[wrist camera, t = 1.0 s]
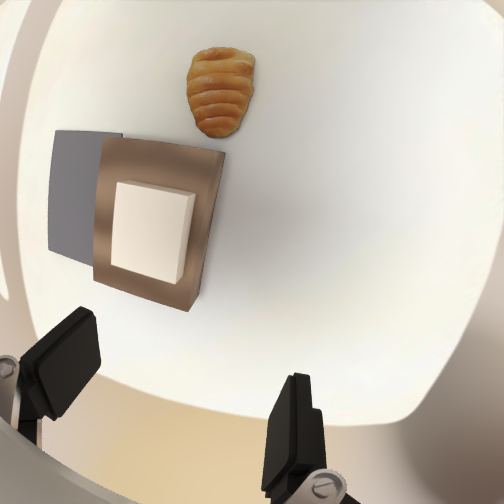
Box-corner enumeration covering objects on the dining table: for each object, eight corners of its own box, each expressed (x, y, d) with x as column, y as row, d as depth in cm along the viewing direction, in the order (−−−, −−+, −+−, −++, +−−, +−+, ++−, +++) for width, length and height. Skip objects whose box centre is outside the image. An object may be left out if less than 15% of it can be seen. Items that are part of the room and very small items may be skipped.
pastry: (253, 139, 26) (248, 135, 22) (188, 140, 26) (174, 136, 23) (256, 55, 23) (252, 40, 19) (193, 59, 23) (181, 46, 20)
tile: (129, 180, 24) (117, 182, 22) (196, 193, 24) (188, 196, 22) (122, 257, 26) (111, 264, 24) (183, 275, 26) (175, 284, 24)
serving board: (124, 138, 26) (104, 136, 23) (225, 152, 26) (216, 151, 22) (111, 268, 32) (93, 280, 28) (198, 295, 31) (187, 312, 27)
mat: (57, 130, 27) (55, 130, 26) (122, 133, 26) (121, 133, 26) (49, 249, 32) (48, 249, 32) (109, 271, 32) (107, 271, 31)
